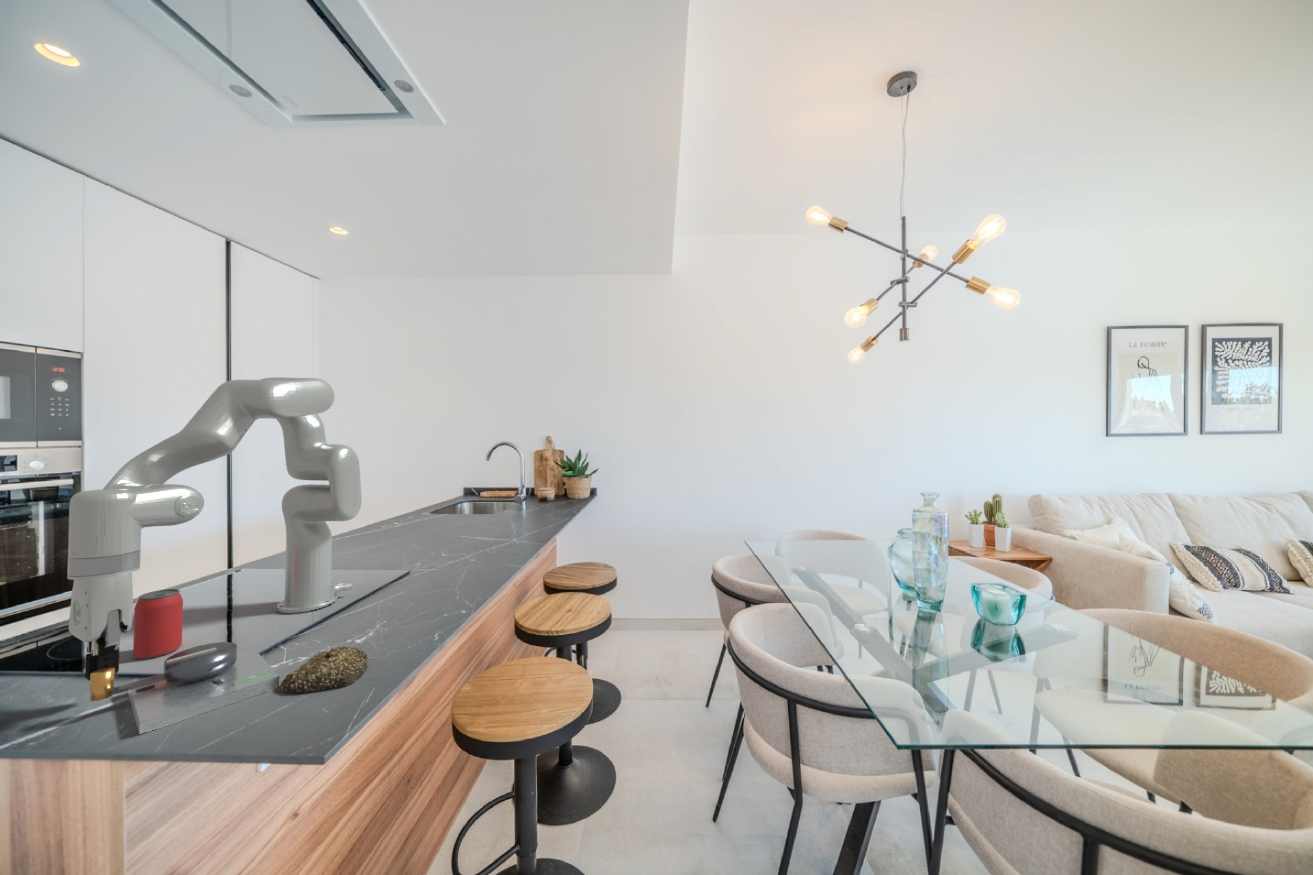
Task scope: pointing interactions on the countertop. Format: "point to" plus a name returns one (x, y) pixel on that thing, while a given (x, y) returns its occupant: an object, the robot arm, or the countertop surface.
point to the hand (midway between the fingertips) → (102, 675)
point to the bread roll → (327, 670)
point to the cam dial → (171, 669)
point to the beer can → (158, 623)
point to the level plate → (201, 692)
